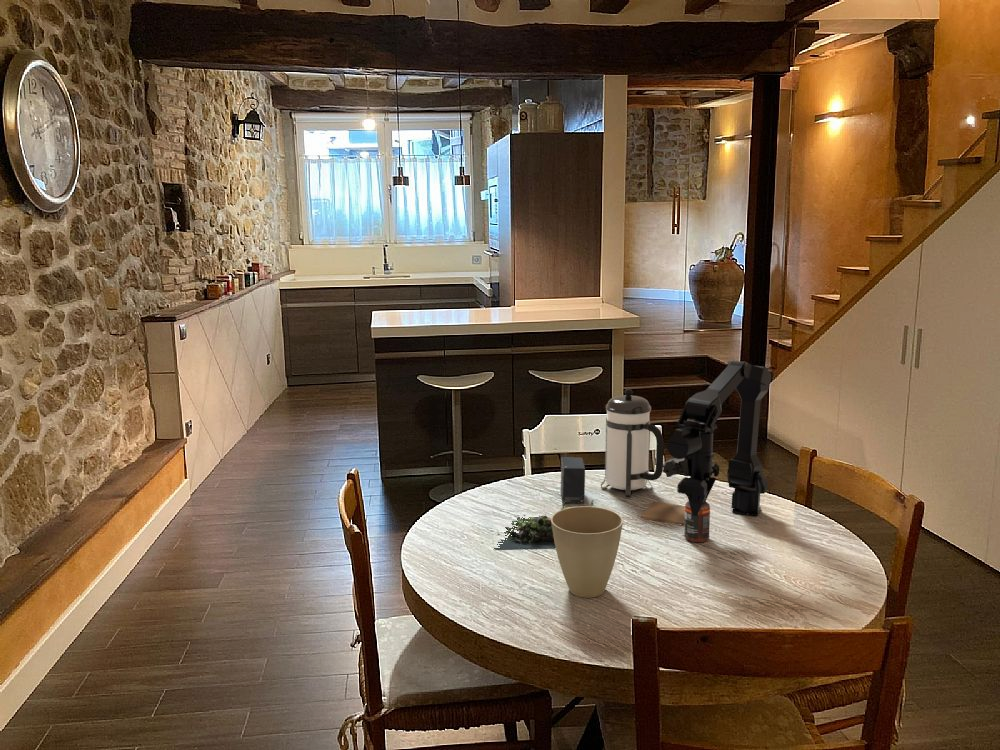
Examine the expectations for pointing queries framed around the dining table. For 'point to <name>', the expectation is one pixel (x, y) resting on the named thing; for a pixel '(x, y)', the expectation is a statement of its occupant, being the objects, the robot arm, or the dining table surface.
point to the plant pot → (586, 547)
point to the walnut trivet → (665, 513)
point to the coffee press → (630, 443)
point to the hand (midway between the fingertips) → (697, 511)
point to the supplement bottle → (697, 523)
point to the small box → (572, 480)
